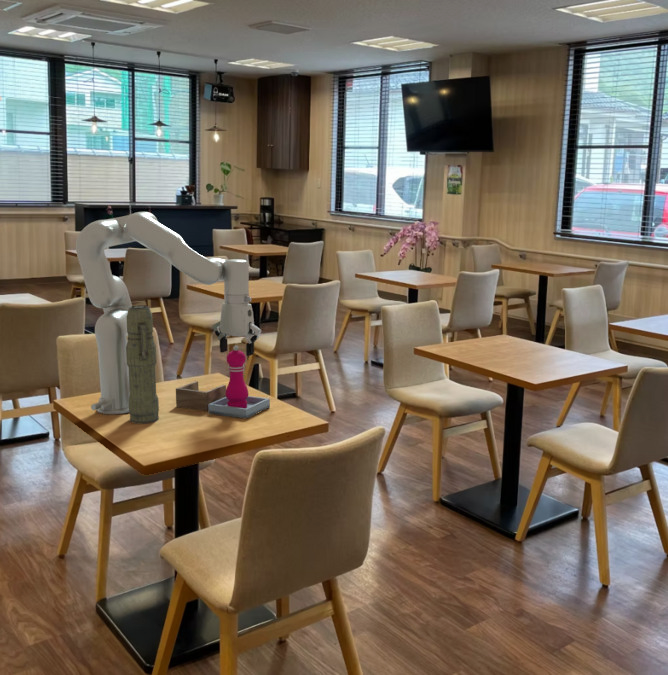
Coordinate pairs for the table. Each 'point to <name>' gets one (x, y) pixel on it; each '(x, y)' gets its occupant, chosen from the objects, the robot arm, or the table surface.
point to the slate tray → (252, 408)
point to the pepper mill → (236, 379)
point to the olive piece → (141, 366)
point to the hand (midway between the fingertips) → (236, 353)
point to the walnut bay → (198, 396)
